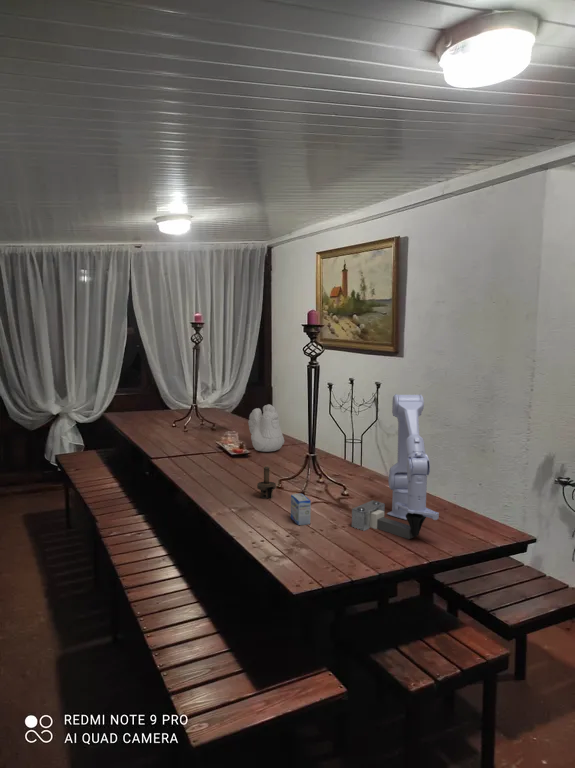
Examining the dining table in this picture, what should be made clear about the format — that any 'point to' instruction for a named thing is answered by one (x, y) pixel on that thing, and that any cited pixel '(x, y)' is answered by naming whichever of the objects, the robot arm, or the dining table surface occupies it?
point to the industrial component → (266, 485)
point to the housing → (365, 514)
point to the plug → (389, 524)
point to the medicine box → (300, 509)
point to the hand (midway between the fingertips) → (415, 535)
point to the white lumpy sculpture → (265, 429)
